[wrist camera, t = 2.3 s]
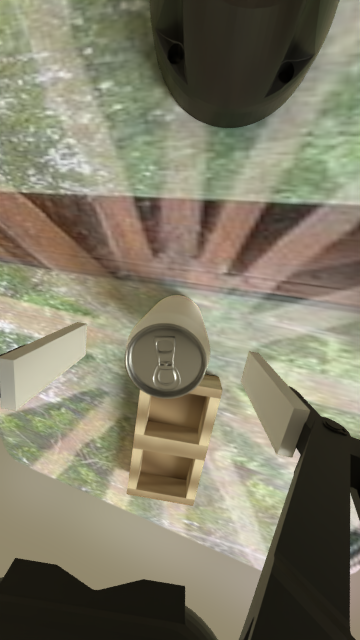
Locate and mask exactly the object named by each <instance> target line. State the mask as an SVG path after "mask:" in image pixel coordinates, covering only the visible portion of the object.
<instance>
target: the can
mask: <svg viewBox="0 0 360 640" xmlns="http://www.w3.org/2000/svg"><path fill="white" fill-rule="evenodd" d="M209 360H210V345H209V340H208V336H207V332H206V328H205V325H204V321H203V318H202V314H201V312H200V309H199V308H198V306H197V305H196V304H195V303H194V302H193V301H192V300H191V299H189V298H187V297H185V296H181V295H172V296H168V297H165V298H163V299H162V300H160V301H159V302H158V303H157V304H156V305H155V306H154V307H153V308H152V309H151V310H150V311H149V312H148V313H147V314H146V315H145V316H144V317H143V318H142V319H141V320H140V321H139V322H138V323H137V324H136V326H135V327H134V328H133V330H132V331H131V333H130V335H129V338H128V341H127V346H126V352H125V367H126V371H127V373H128V375H129V377H130V379H131V380H132V382H133V383H134V384H135V385H136V386H137V387H138V388H139V389H140V390H141V391H143V392H145V393H146V394H148V395H151V396H153V397H157V398H163V399H172V398H178V397H181V396H184V395H186V394H188V393H190V392H191V391H193V390H194V389H195V388H196V387H197V386H198V385H199V384H200V382H201V381H202V379H203V377H204V375H205V372H206V369H207V367H208V364H209Z"/></svg>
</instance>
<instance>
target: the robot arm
mask: <svg viewBox="0 0 360 640" xmlns="http://www.w3.org/2000/svg"><path fill="white" fill-rule="evenodd" d="M338 3H339V0H150V14H151V23H152V30H153V37H154V43H155V50H156V55H157V60H158V64H159V67H160V70H161V73H162V76H163V78H164V81H165V83H166V85H167V87H168V88H169V90H170V92H171V94H172V95H173V96H174V98H175V99H176V101H177V102H178V103H179V104H180V105H181V106H182V107H183V109H185V110H186V111H187V112H188V113H189V114H190V115H192V116H193V117H195V118H196V119H198V120H200V121H202V122H204V123H206V124H209V125H212V126H216V127H222V128H236V127H242V126H247V125H250V124H253V123H255V122H258V121H260V120H262V119H264V118H265V117H267V116H269V115H270V114H272V113H273V112H274V111H276V110H277V109H278V108H279V107H280V106H282V105H283V104H284V103H285V102H286V101H287V100H288V98H289V97H290V96H291V95H292V94H293V93H294V91H295V90H296V89H297V87H298V86H299V85H300V83H301V81H302V80H303V78H304V77H305V75H306V73H307V71H308V70H309V68H310V66H311V65H312V63H313V61H314V60H315V58H316V56H317V54H318V53H319V51H320V49H321V47H322V45H323V43H324V41H325V38H326V36H327V34H328V31H329V29H330V27H331V24H332V21H333V19H334V16H335V13H336V9H337V6H338ZM86 334H87V324H86V323H80V322H77V323H74V324H72V325H70V326H68V327H65V328H63V329H61V330H59V331H56V332H54V333H52V334H50V335H47V336H45V337H43V338H41V339H38V340H36V341H34V342H32V343H29V344H27V345H23V346H20V347H18V348H15V349H13V350H11V351H8V352H7V353H4V354H1V355H0V405H1V409H7V410H13V411H17V410H18V409H19V408H20V407H22V406H23V405H24V404H25V403H27V402H28V401H29V400H30V399H32V398H33V397H34V396H35V395H37V394H38V393H39V392H40V391H42V390H43V389H44V388H45V387H47V386H48V385H49V384H50V383H52V382H53V381H54V380H55V379H57V378H58V377H59V376H60V375H62V374H63V373H64V372H65V371H67V370H68V369H69V368H70V367H72V366H73V365H74V364H75V363H76V362H78V361H79V360H80V359H81V358H83V357H84V356H85V355H86ZM241 383H242V385H243V387H244V389H245V391H246V393H247V395H248V397H249V399H250V401H251V403H252V405H253V407H254V409H255V411H256V413H257V416H258V418H259V420H260V422H261V424H262V426H263V428H264V430H265V432H266V434H267V436H268V438H269V440H270V442H271V444H272V446H273V448H274V450H275V452H276V454H277V455H280V456H286V457H293V454H294V452H295V449H296V448H297V450H298V451H299V453H300V454H301V456H300V458H299V461H298V463H297V466H296V468H295V471H294V476H293V479H292V482H291V485H290V488H289V491H288V494H287V497H286V500H285V503H284V506H283V509H282V512H281V515H280V518H279V521H278V524H277V527H276V530H275V533H274V536H273V540H272V543H271V546H270V549H269V552H268V555H267V558H266V561H265V564H264V567H263V570H262V573H261V576H260V579H259V582H258V585H257V588H256V591H255V595H254V597H253V600H252V603H251V606H250V609H249V612H248V615H247V618H246V621H245V624H244V627H243V630H242V632H241V635H240V638H239V640H355V638H353V636H352V635H351V633H350V493H351V496H352V499H353V502H354V505H355V508H356V511H357V514H358V517H359V520H360V440H358V439H356V438H353V437H351V436H350V434H349V432H348V431H347V430H346V429H345V428H344V427H343V426H341V425H340V424H338V423H337V422H335V421H333V420H331V419H328V418H326V417H321V416H320V415H319V414H318V413H317V412H316V410H315V409H314V408H313V407H312V406H311V405H310V404H308V402H307V401H306V400H305V399H304V398H303V397H302V395H301V394H300V393H299V392H297V391H296V390H295V389H293V388H292V387H289V386H288V385H287V384H286V383H285V382H284V381H283V380H282V379H281V378H280V376H279V375H278V374H277V373H276V372H275V371H274V370H273V369H272V367H271V366H270V365H269V364H268V363H267V362H266V361H265V360H264V359H263V357H262V356H261V355H260V354H259V353H256V352H250V351H249V353H248V357H247V361H246V364H245V368H244V372H243V375H242V379H241ZM0 640H218V639H217V638H216V636H215V635H214V633H213V632H212V630H211V629H210V628H209V627H208V626H207V625H206V623H205V622H204V621H203V620H202V619H201V618H200V617H199V616H198V615H197V614H196V613H195V612H193V611H192V610H191V609H190V608H188V607H187V606H185V586H181V585H174V584H169V583H162V582H156V581H151V580H145V579H143V580H139V581H135V582H130V583H127V584H122V585H118V586H114V587H110V588H106V589H102V590H93V589H91V588H90V587H88V586H87V585H85V584H84V583H82V582H81V581H79V580H78V579H77V578H75V577H74V576H72V575H71V574H69V573H68V572H66V571H65V570H64V569H62V568H61V567H59V566H58V565H54V564H48V563H42V562H36V561H30V560H24V559H18V558H15V559H14V561H13V563H12V564H11V566H10V568H9V569H8V571H7V573H6V574H5V576H4V577H2V578H0Z"/></svg>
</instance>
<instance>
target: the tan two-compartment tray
mask: <svg viewBox="0 0 360 640" xmlns="http://www.w3.org/2000/svg"><path fill="white" fill-rule="evenodd" d="M221 394H222V387H221V383H220V379H219V377H216V376H211V375H204V377H203V379H202V381H201V382H200V384H199V385H198V386H197V387H196V388H195V389H194V390H193V391H191V392H190V393H188V394H186V395H184V396H181V397H178V398H172V399H163V398H157V397H153V396H151V395H148V394H146V393H145V392H143V391H141V390H140V395H139V403H138V411H137V418H136V426H135V434H134V442H133V450H132V457H131V465H130V473H129V481H128V489H127V494H129V495H135V496H140V497H146V498H152V499H157V500H163V501H168V502H174V503H180V504H185V505H191V506H193V504H194V500H195V496H196V492H197V488H198V484H199V480H200V476H201V472H202V468H203V465H204V461H205V457H206V453H207V449H208V445H209V441H210V437H211V433H212V429H213V425H214V421H215V418H216V414H217V410H218V406H219V402H220V398H221Z"/></svg>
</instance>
